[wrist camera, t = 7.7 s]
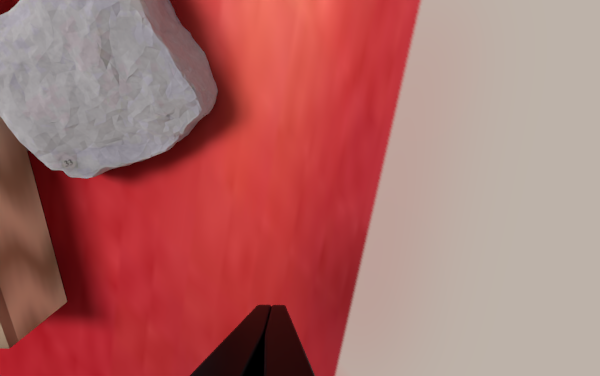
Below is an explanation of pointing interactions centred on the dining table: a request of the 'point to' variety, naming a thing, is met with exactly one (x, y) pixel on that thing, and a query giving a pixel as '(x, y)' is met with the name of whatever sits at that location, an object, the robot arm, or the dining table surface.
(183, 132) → the stone block
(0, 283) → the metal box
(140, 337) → the dining table surface
